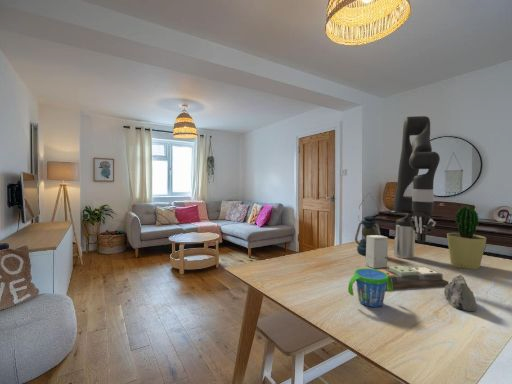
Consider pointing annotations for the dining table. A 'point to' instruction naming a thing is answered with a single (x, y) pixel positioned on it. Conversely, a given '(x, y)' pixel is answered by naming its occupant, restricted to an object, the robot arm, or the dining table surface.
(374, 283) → the snack cup
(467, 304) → the mineral rock
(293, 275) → the dining table surface
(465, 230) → the potted cactus
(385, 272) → the orange flat square block
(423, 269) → the cream button
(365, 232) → the lantern
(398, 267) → the sage button
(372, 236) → the skincare box
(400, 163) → the robot arm
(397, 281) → the button panel
